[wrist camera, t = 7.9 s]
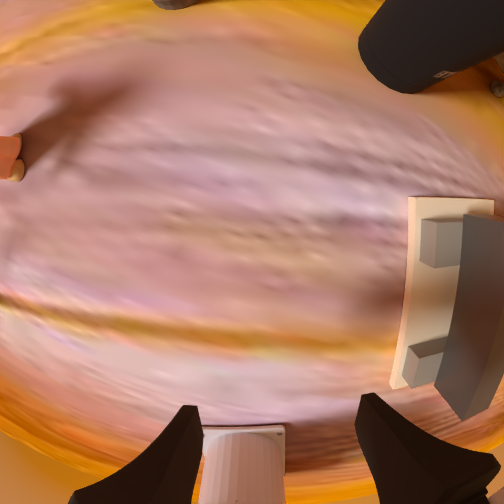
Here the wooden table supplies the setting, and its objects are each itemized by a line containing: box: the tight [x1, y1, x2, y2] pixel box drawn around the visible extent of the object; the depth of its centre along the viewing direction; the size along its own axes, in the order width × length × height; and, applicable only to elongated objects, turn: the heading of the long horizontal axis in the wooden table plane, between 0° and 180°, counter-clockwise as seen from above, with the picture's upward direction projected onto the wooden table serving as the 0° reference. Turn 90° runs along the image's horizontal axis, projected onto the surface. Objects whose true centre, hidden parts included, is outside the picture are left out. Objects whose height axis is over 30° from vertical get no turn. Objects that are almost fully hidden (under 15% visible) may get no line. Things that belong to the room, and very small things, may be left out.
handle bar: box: [434, 214, 504, 421], centre depth 14 cm, size 14×3×5 cm, turn 4°
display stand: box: [389, 197, 494, 390], centre depth 18 cm, size 16×9×3 cm, turn 4°
